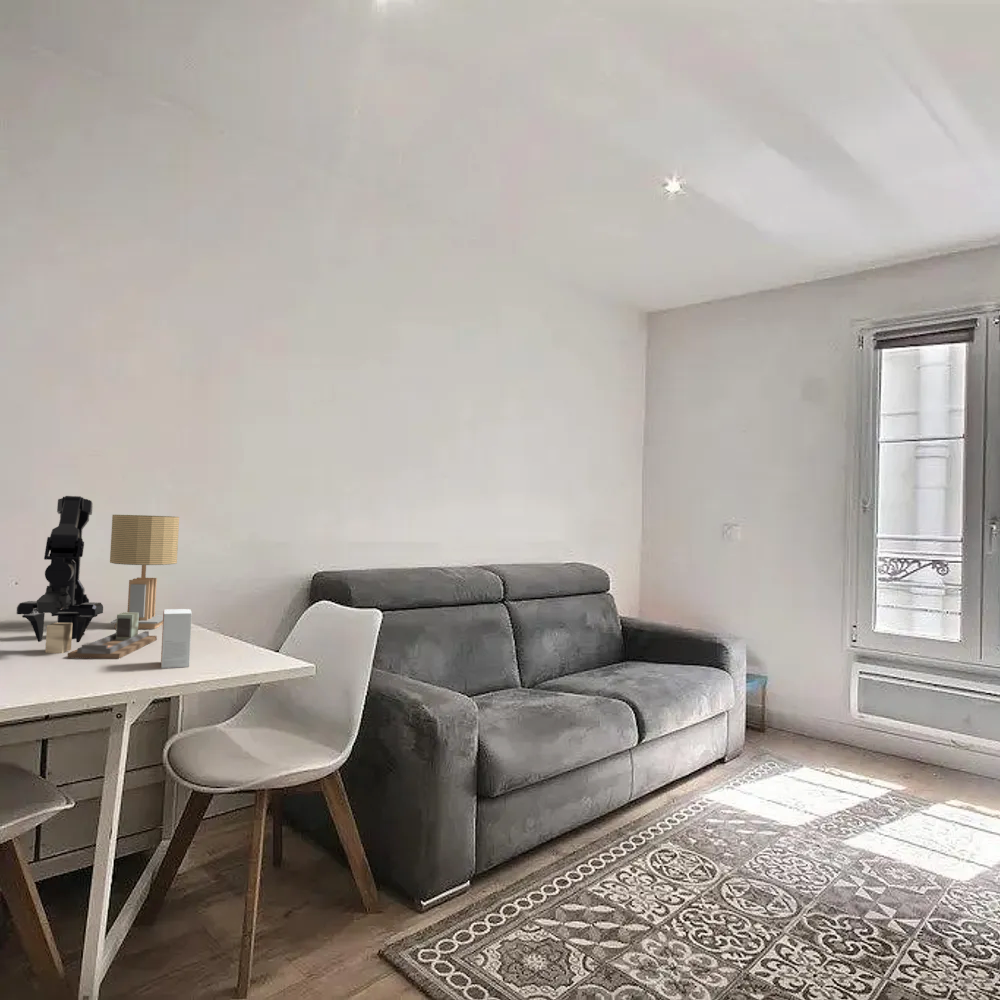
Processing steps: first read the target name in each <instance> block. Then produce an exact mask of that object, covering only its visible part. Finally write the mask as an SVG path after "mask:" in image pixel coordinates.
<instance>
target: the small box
mask: <svg viewBox="0 0 1000 1000" xmlns="http://www.w3.org/2000/svg"><path fill="white" fill-rule="evenodd" d="M162 612H163V613H162V615H163V624H162V631H161V632H162V633H161V634H162V636H161V652H160V654H161V655H160V656H161V657H160V661H161V663H160V668H161V669H173V668H174V669H175V668H189V667H190V663H191V662H190V661H191V659H190V658H191V639H192V637H191V636H192V619H193V617H192V616H193V613H192V610H191V608H190V609H189V608H169V609H168V608H166V609H163V611H162Z"/></svg>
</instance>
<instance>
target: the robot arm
mask: <svg viewBox="0 0 1000 1000" xmlns="http://www.w3.org/2000/svg"><path fill="white" fill-rule="evenodd" d="M56 509H57V511H56V512H57V514H58V515H60V517H59V522H58V525H57V526H56V527H54V528H52V530H51V533H50V535H49V536H47V538H46V544H45V545H46V546H45V549H44V550H45V552H44V558H43V559H44V560H45V561H46V560H50V564H49V565H47V567H46V569H45V571H44V577H45V579H46V581H47V582H48V583H49V584H48V585H47V586H46V589H45V593H44V594H42V595H41V596H40V597H39V598H38V599H37V600H28V601H23V602H19V603H18V604H17V607H16V615H21V617H22V618H24V619H25V618H26V619H27V621H29V622H30V625H31V626H32V630H33V631H34V634H35V637H36V640H37V642H38V643H40V642H43V637H44V626H45V625H44V624H45V613H46V614H51V617H55V616H56V617H57V622H56V623H72V639H75V640H76V641H75V642H76V643H80V641H81V640H82V638H83V636H84V635H85V632H86V630H87V628H88V626H89V625H90V623H91V621H92V620H93V619H94V618H96V617H98V615H101V614H104V606H103V605H104V604H102V602H92V601H91V602H90V599H89V598H88V596H87V595H88V594H85V591H86V590H85V586H84V585H83V584H82V582H81V580H80V572H81V569H80V568H81V558H82V557H83V555H84V548H85V541H83V536H82V535H83V529H84V528H85V527H86V525H88V523H89V521H90V516H92V515H93V501H92V500H90V499H89V498H88V499H87V498H85V497H83V496H79V495H74V496H73V495H65V496H62V498H58V499H57V507H56Z"/></svg>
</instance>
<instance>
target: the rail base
mask: <svg viewBox="0 0 1000 1000" xmlns="http://www.w3.org/2000/svg"><path fill="white" fill-rule="evenodd" d="M116 619H117V625H116V629H115V632H114V633H113V634H110V635H107V636H105V637H103V638H100V639H98V640H95V641H93V642H90V643H87V644H82V645H81V647H77V648H76V649H75V650H72V651H70V652H68V653H67V656H66V657H67V659H108V660H111V659H112V660H113V659H115V660H116V659H117V660H119V658H120V659H122V658H124V657H125V656H127V655H129V654H132V653H133V652H135V651H138V650H139V649H141V648H143V647H146V646H147V645H150V644H151V643H153V642H155V641H157V637H158V636H157V635H150V631H145V630H144V631H143V632H141V633H139V629H138V621H139V613H134V612H127V611H125V612H124V611H122V612H121V613H118V614H116ZM123 656H124V657H123ZM121 657H122V658H121Z"/></svg>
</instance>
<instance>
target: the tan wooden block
mask: <svg viewBox="0 0 1000 1000" xmlns="http://www.w3.org/2000/svg"><path fill="white" fill-rule="evenodd" d="M45 634H46V635H45V654H64V653H66V652H69V651H71V650H72V641H73V640H72V639H73V638H72V623H57V622H52V623H51V624H47V625H46V632H45Z"/></svg>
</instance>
